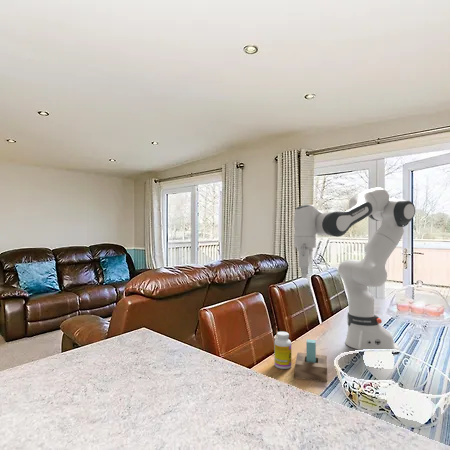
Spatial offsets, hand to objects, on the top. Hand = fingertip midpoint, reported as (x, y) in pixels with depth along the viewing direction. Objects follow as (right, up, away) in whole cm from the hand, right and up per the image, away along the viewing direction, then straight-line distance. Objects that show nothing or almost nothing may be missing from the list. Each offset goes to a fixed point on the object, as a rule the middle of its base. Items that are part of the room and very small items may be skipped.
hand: (305, 276), depth 133 cm
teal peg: (-1, -34, -14) cm, 37 cm away
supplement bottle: (-11, -34, -8) cm, 37 cm away
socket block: (-1, -34, -14) cm, 37 cm away
